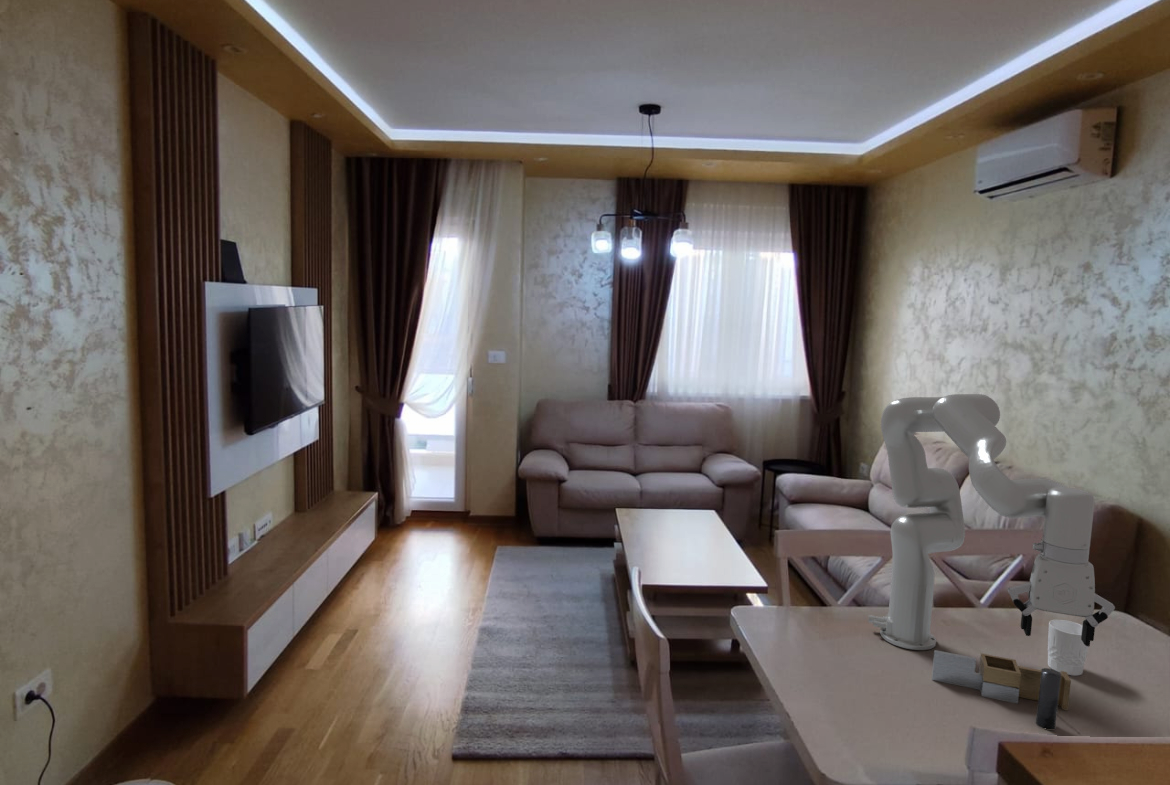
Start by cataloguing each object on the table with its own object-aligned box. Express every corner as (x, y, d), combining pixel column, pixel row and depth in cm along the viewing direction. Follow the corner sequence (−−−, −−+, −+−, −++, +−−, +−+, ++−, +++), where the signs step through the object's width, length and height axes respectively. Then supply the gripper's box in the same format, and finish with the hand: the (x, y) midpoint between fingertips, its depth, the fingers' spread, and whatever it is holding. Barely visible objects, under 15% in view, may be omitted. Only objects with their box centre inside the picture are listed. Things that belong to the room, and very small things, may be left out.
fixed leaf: (932, 686, 153) (935, 657, 152) (931, 672, 159) (933, 644, 158) (1017, 703, 147) (1020, 674, 146) (1012, 688, 153) (1015, 659, 152)
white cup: (1092, 679, 158) (1097, 636, 157) (1053, 674, 159) (1058, 632, 158) (1075, 662, 165) (1080, 621, 164) (1038, 658, 167) (1043, 617, 166)
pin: (1037, 727, 138) (1043, 674, 137) (1034, 718, 141) (1040, 666, 140) (1056, 731, 137) (1062, 678, 136) (1053, 723, 140) (1059, 670, 139)
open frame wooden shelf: (981, 695, 149) (984, 667, 148) (978, 680, 155) (980, 653, 155) (1069, 713, 143) (1072, 684, 143) (1061, 697, 149) (1064, 669, 149)
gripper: (1015, 551, 135) (1007, 637, 137) (1125, 566, 128) (1115, 656, 130) (1009, 540, 142) (1001, 622, 144) (1113, 553, 135) (1103, 639, 137)
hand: (1055, 638), depth 137 cm, fingers open, 9 cm apart
